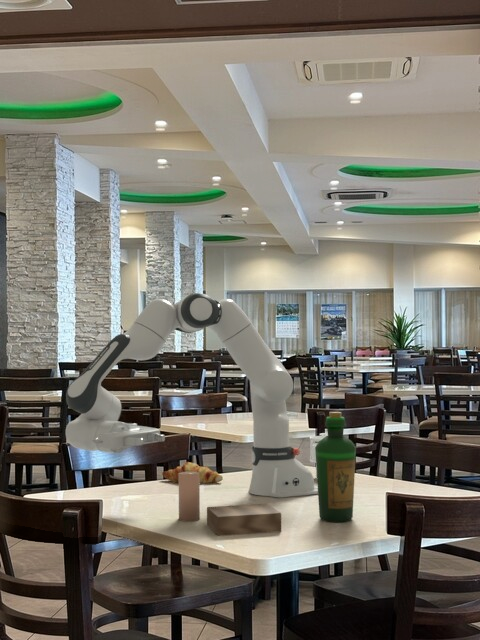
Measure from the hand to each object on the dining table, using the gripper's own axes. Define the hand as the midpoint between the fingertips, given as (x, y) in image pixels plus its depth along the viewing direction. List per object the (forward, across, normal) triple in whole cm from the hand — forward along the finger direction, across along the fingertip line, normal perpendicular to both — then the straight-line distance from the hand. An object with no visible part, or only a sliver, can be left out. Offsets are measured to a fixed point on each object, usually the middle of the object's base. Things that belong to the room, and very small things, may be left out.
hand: (152, 440), depth 221 cm
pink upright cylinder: (+12, 0, +20) cm, 23 cm away
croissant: (-20, +47, +20) cm, 55 cm away
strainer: (+13, +76, +20) cm, 80 cm away
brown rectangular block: (+30, -2, +20) cm, 36 cm away
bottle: (+46, +20, +20) cm, 53 cm away
